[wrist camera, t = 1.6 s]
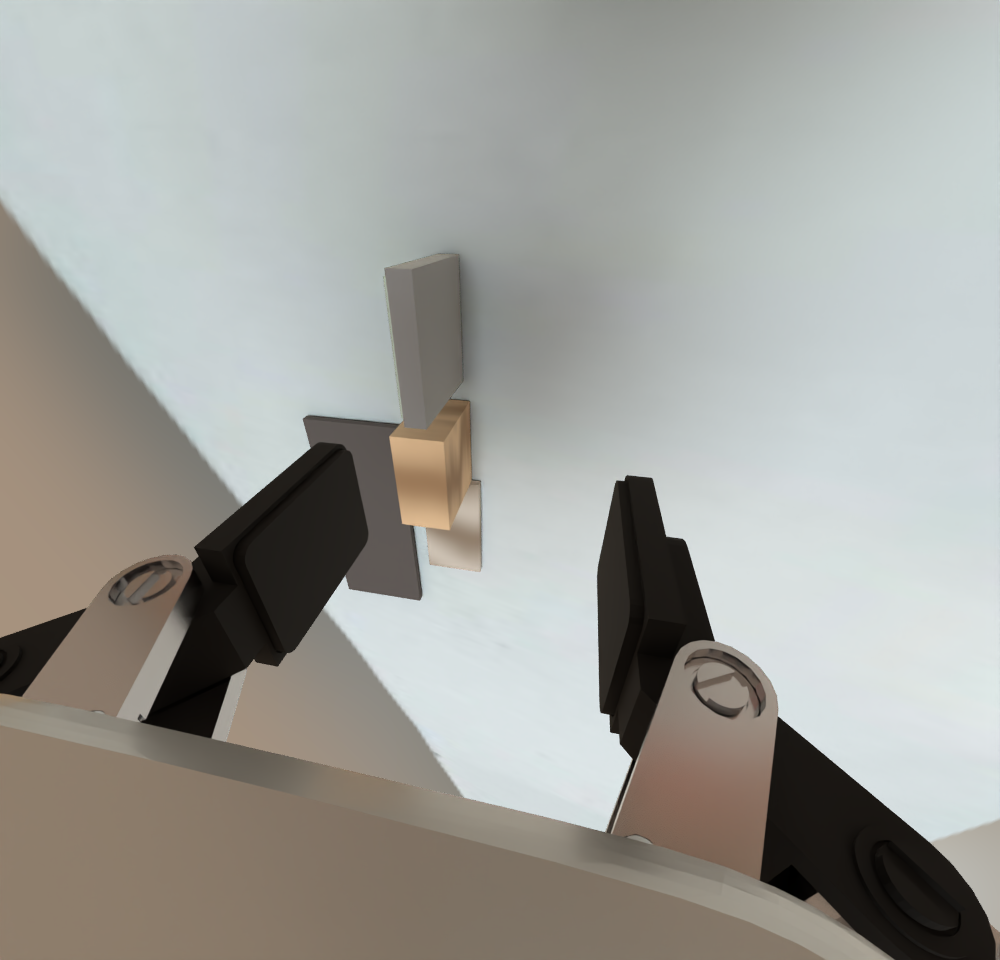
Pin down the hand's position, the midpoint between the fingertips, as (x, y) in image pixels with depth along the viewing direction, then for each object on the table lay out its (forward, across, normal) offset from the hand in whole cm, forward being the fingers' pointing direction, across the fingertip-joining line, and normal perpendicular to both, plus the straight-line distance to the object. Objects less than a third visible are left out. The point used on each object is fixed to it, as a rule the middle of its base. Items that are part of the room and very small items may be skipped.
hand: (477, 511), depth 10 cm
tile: (+20, +6, 0) cm, 21 cm away
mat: (+20, +15, +18) cm, 31 cm away
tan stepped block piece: (+20, +7, +14) cm, 25 cm away
